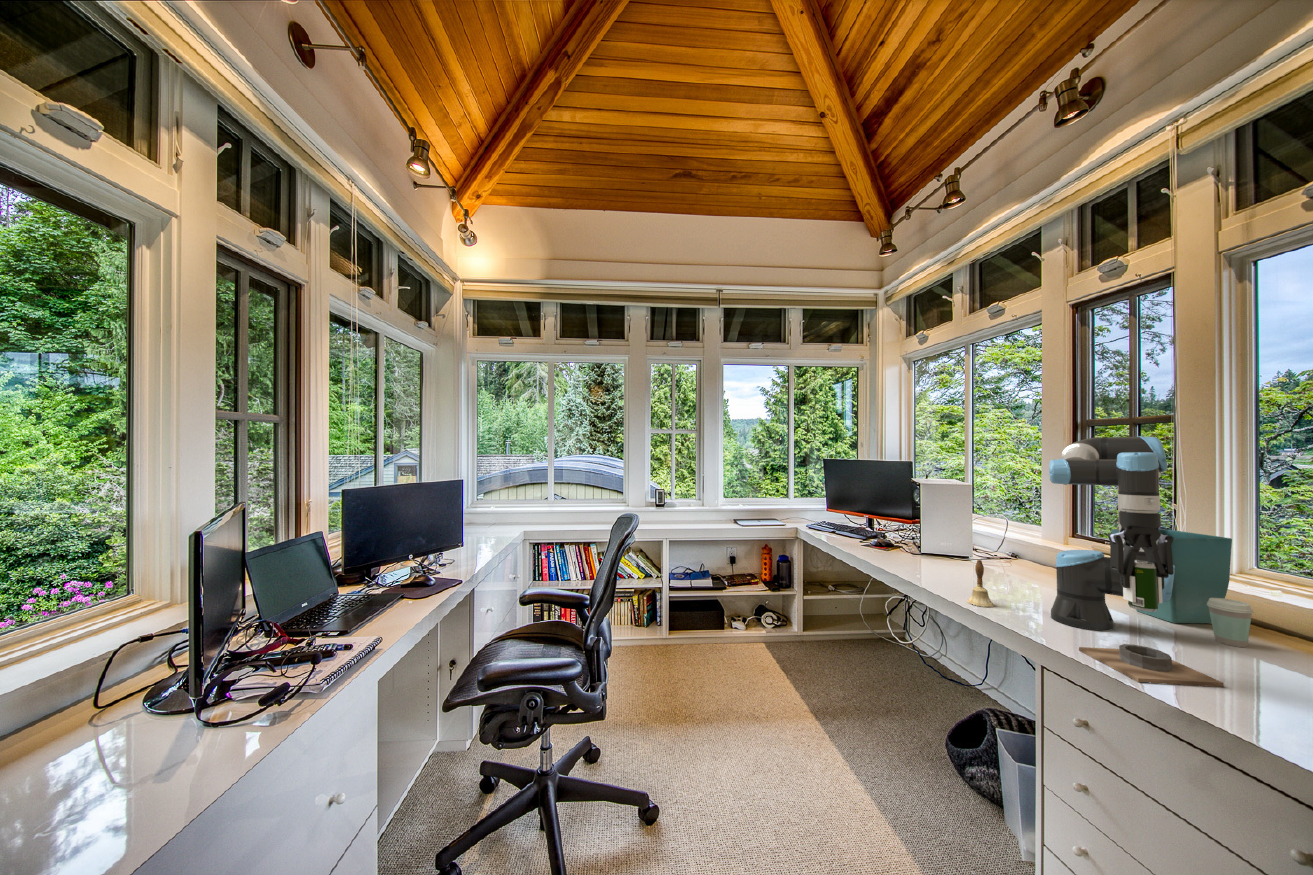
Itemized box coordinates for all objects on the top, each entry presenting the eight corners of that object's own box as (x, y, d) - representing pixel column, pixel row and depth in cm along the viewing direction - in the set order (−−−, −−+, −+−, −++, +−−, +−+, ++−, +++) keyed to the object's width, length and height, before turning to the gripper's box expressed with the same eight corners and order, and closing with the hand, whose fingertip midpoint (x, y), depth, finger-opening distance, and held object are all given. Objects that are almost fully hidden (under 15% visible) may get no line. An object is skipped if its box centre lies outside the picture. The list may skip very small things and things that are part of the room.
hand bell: (963, 599, 173) (962, 557, 174) (988, 601, 171) (987, 558, 172) (972, 606, 165) (971, 562, 166) (998, 608, 163) (997, 563, 164)
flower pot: (1112, 606, 165) (1109, 528, 166) (1169, 607, 164) (1166, 528, 165) (1172, 627, 145) (1168, 538, 146) (1238, 628, 144) (1234, 538, 145)
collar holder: (1078, 650, 128) (1078, 636, 128) (1151, 653, 126) (1150, 639, 126) (1138, 682, 110) (1137, 665, 110) (1223, 686, 108) (1222, 669, 108)
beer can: (1156, 613, 114) (1154, 565, 115) (1125, 607, 119) (1124, 561, 119) (1160, 609, 117) (1158, 562, 118) (1131, 604, 122) (1129, 558, 122)
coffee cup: (1265, 650, 128) (1263, 607, 128) (1228, 648, 130) (1226, 605, 130) (1233, 638, 136) (1231, 598, 137) (1198, 636, 138) (1197, 596, 138)
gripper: (1112, 512, 117) (1115, 604, 116) (1193, 513, 114) (1198, 607, 113) (1088, 508, 124) (1091, 595, 123) (1164, 510, 122) (1168, 598, 121)
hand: (1142, 600), depth 118 cm, fingers closed on beer can, 5 cm apart
